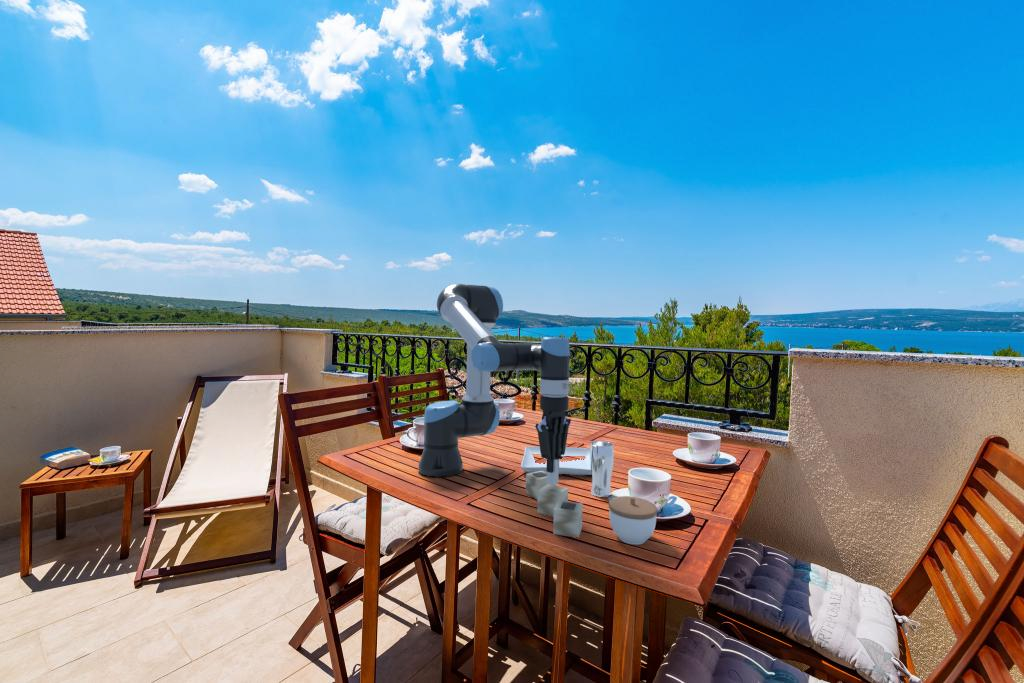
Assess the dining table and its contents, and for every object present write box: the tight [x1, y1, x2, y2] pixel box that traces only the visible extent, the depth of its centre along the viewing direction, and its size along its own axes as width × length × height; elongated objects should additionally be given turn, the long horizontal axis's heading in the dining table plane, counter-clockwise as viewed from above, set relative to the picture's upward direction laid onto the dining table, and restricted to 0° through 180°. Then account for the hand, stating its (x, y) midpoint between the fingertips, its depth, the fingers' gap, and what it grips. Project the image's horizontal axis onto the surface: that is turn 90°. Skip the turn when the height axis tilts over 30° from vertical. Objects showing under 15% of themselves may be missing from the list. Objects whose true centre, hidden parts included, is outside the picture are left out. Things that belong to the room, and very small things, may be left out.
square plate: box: [520, 446, 592, 476], centre depth 148 cm, size 27×27×4 cm
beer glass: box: [589, 440, 615, 498], centre depth 121 cm, size 7×7×15 cm
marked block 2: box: [552, 500, 584, 539], centre depth 98 cm, size 6×6×6 cm
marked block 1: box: [525, 471, 549, 501], centre depth 120 cm, size 6×6×6 cm
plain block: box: [536, 484, 569, 518], centre depth 108 cm, size 6×6×6 cm
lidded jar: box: [608, 495, 658, 546], centre depth 94 cm, size 11×11×9 cm
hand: (552, 483), depth 108 cm, fingers closed
